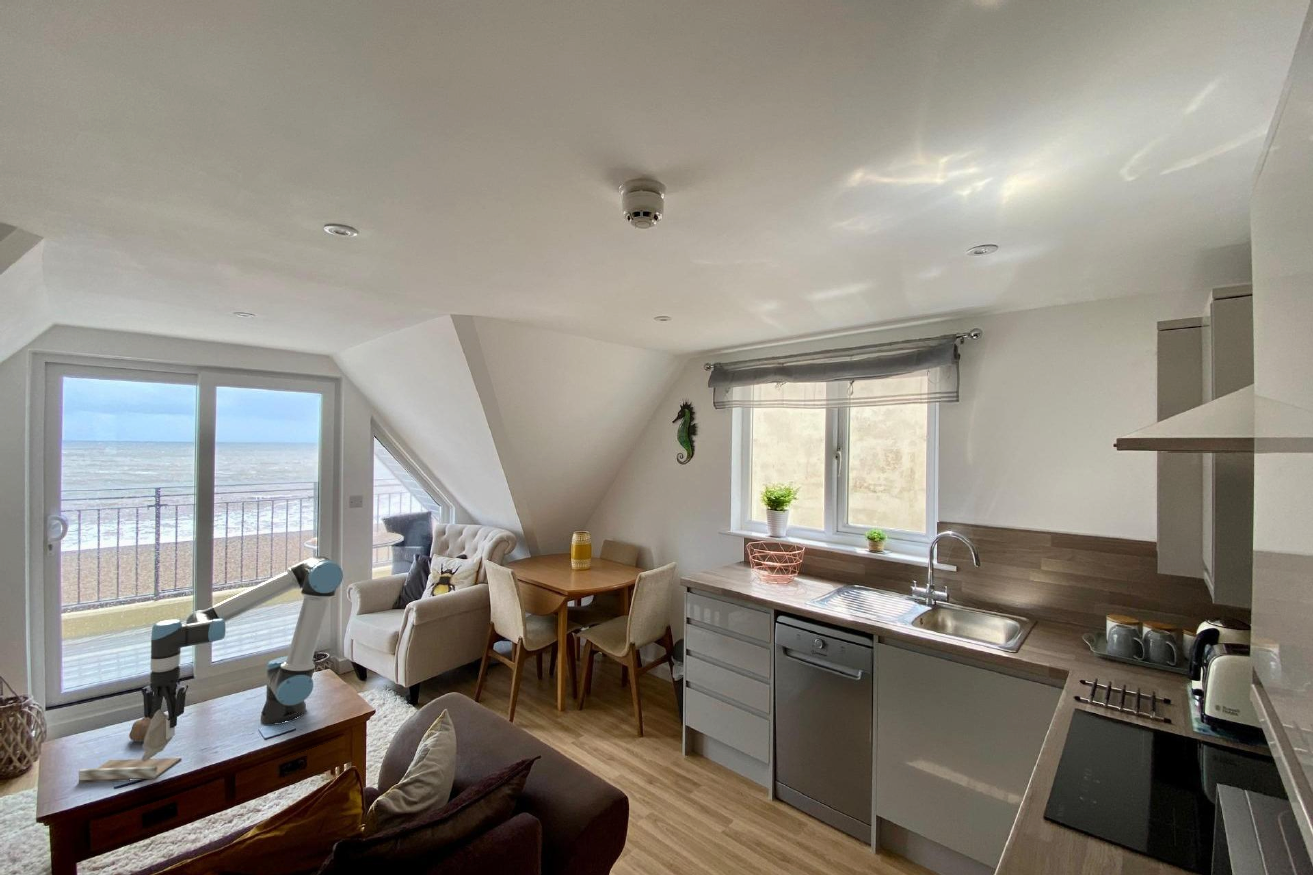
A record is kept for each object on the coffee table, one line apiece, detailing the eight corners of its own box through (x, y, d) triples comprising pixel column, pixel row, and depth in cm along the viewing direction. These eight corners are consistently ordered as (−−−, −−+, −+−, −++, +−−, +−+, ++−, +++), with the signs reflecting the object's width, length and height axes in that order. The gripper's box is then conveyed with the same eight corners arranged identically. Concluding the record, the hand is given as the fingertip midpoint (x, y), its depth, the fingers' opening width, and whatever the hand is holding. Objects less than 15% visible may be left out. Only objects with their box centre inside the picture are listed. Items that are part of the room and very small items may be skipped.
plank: (181, 762, 189) (181, 749, 189) (154, 782, 178) (154, 768, 178) (110, 764, 187) (110, 751, 187) (78, 784, 176) (78, 770, 176)
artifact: (146, 763, 178) (146, 717, 178) (138, 762, 178) (139, 716, 178) (176, 747, 187) (177, 704, 187) (168, 746, 187) (169, 703, 187)
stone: (130, 753, 197) (146, 731, 197) (116, 734, 199) (132, 713, 199) (166, 739, 209) (182, 718, 209) (152, 722, 211) (168, 701, 211)
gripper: (199, 662, 189) (197, 730, 189) (149, 663, 188) (147, 731, 188) (182, 671, 182) (180, 742, 181) (129, 672, 180) (127, 743, 180)
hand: (163, 736), depth 184 cm, fingers closed on artifact, 3 cm apart
